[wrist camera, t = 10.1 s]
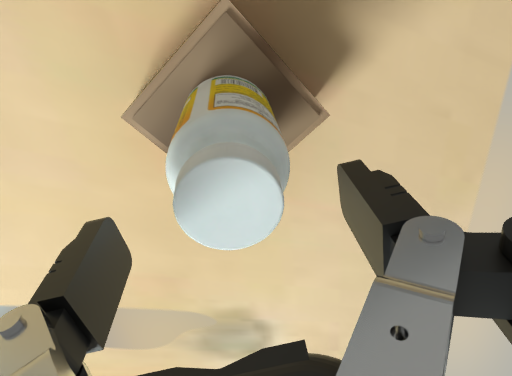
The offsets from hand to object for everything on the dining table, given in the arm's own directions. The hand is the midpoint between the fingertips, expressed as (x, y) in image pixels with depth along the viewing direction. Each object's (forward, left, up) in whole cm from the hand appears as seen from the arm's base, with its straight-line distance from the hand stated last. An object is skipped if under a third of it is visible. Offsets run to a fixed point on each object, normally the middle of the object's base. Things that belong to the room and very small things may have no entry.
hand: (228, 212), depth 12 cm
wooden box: (0, 0, -14) cm, 14 cm away
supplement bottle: (0, 0, -10) cm, 10 cm away
